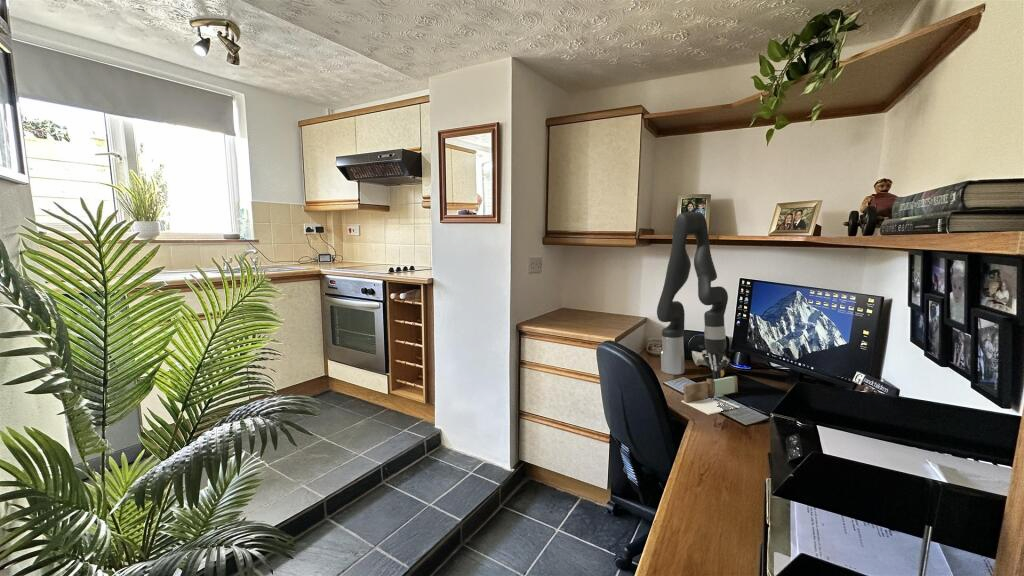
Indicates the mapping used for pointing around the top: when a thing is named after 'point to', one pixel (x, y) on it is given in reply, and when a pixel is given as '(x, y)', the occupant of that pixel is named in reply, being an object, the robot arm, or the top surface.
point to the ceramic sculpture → (699, 358)
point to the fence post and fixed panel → (699, 391)
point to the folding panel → (725, 385)
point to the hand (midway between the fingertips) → (716, 379)
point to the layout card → (710, 405)
